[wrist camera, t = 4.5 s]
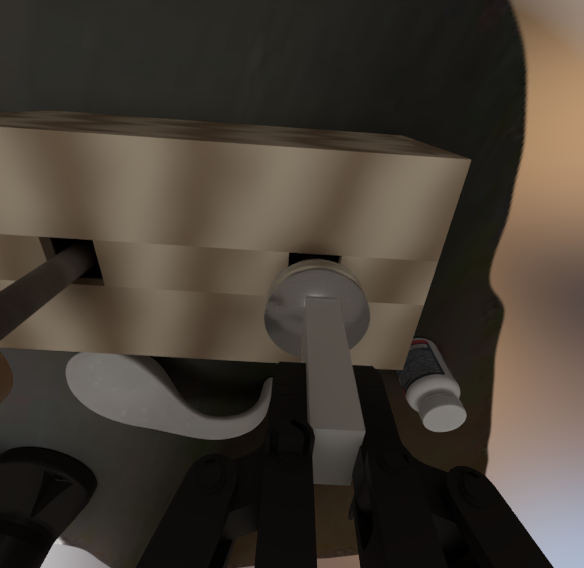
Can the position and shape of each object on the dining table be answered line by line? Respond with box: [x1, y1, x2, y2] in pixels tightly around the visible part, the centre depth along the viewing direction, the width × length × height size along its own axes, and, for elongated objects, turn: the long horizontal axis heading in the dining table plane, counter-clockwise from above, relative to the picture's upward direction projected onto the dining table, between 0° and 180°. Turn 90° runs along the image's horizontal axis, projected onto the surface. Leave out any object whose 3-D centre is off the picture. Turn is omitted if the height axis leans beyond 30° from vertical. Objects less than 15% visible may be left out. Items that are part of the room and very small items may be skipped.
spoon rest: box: [66, 352, 273, 440], centre depth 37 cm, size 24×12×7 cm, turn 80°
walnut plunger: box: [0, 239, 98, 403], centre depth 16 cm, size 5×5×14 cm
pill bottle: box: [396, 338, 466, 432], centre depth 34 cm, size 5×5×9 cm
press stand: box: [0, 110, 471, 370], centre depth 24 cm, size 28×14×12 cm, turn 86°
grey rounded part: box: [264, 253, 370, 358], centre depth 21 cm, size 5×5×14 cm
